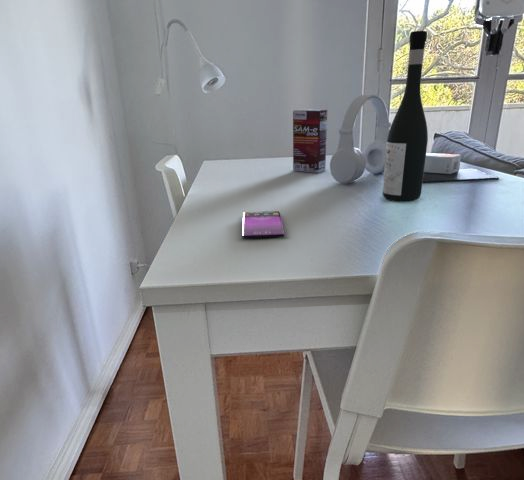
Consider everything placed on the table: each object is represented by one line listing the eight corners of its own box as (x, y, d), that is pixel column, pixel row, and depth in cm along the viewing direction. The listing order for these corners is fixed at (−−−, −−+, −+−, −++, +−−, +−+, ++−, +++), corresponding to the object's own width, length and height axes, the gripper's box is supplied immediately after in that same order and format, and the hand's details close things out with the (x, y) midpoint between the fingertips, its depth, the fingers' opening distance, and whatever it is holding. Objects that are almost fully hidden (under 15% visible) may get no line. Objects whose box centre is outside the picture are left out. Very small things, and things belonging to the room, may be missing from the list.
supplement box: (292, 171, 137) (291, 110, 129) (300, 168, 140) (300, 109, 132) (318, 173, 133) (319, 110, 125) (326, 170, 136) (328, 109, 128)
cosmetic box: (452, 156, 118) (408, 154, 125) (450, 174, 120) (406, 171, 127) (462, 154, 122) (418, 152, 129) (459, 171, 124) (416, 168, 131)
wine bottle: (390, 204, 97) (407, 29, 83) (376, 196, 104) (389, 34, 89) (427, 201, 98) (450, 28, 84) (410, 193, 105) (429, 32, 90)
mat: (473, 170, 127) (473, 168, 127) (498, 179, 115) (499, 177, 115) (393, 174, 127) (393, 172, 126) (410, 184, 115) (410, 182, 114)
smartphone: (279, 215, 92) (279, 210, 92) (284, 237, 79) (284, 231, 79) (242, 217, 92) (242, 212, 92) (241, 239, 79) (241, 233, 79)
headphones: (356, 186, 115) (361, 96, 105) (327, 182, 120) (330, 97, 110) (395, 173, 128) (403, 92, 118) (368, 171, 133) (373, 93, 123)
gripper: (482, -50, 96) (467, 56, 105) (554, -54, 96) (533, 52, 105) (466, -42, 102) (453, 57, 111) (533, -45, 102) (515, 54, 112)
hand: (492, 55), depth 108 cm, fingers closed
